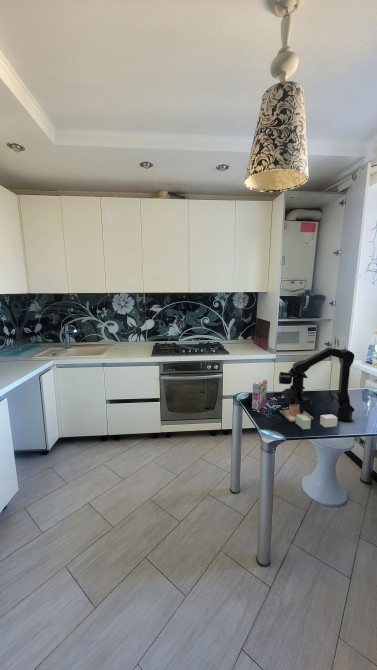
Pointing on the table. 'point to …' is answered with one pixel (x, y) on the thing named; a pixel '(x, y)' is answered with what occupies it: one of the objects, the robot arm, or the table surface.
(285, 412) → the birch board
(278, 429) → the table surface
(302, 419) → the sage brick
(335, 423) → the cream brick
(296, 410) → the terracotta brick
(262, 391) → the candy bar box
